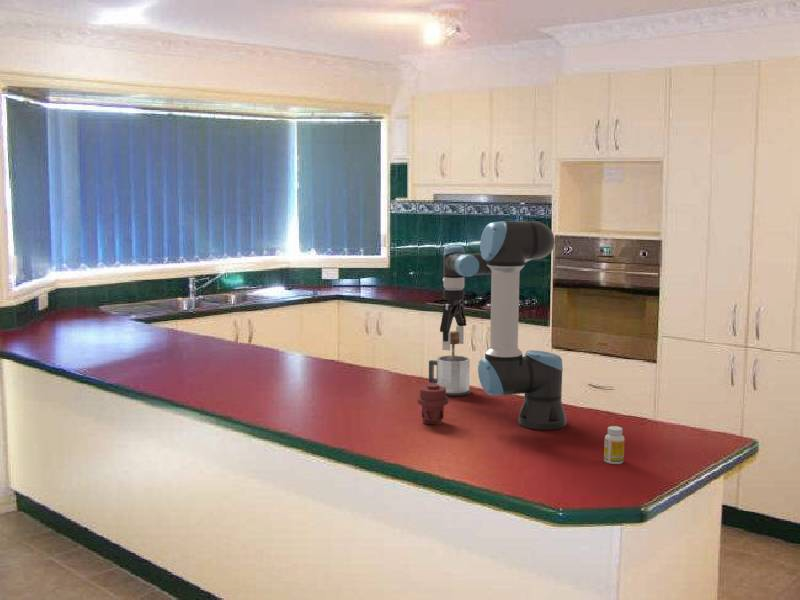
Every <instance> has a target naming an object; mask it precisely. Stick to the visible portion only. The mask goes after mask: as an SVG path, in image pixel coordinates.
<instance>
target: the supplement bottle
mask: <svg viewBox="0 0 800 600" xmlns="http://www.w3.org/2000/svg"><path fill="white" fill-rule="evenodd" d="M623 431H624V430H623V427H620V426H617V425H610V426H608V427H607V433H606V435H605V436H604V443H603V444H604V445H603V446H604V447H603V448H604V449H603V460H604V462H605V463H607V464H611V465H621V464H623V463H624V461H625V459H624V457H625V440H626V439H625V436H624V435H623V433H624V432H623Z"/></svg>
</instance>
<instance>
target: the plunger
mask: <svg viewBox="0 0 800 600" xmlns="http://www.w3.org/2000/svg"><path fill="white" fill-rule="evenodd" d="M449 332H450V345H451V356H452V362H454V356H456V355H455V348H456V345H460V344H459V332H457V331H456V330H455V331H454V330H451V331H449Z"/></svg>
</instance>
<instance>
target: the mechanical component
mask: <svg viewBox="0 0 800 600" xmlns="http://www.w3.org/2000/svg"><path fill="white" fill-rule="evenodd" d="M416 401H417V403H418V405H420V406H421V419H422V424H424V425H428V424H429V425H442V420H443V419H444V418H445V415H444V414H445V408H444V407H445V406H447V405H448V404H449V403H450V402H449V396H446V388H445V387H442V386H439V385H438V384H437V383H428V384H427V385H423V386H421V387H420V388H419V396H417V399H416Z"/></svg>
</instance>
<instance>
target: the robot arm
mask: <svg viewBox="0 0 800 600" xmlns="http://www.w3.org/2000/svg"><path fill="white" fill-rule="evenodd" d="M555 243H556V241H555V235H554V233H553V231H552V229H550V228H549V226H547V225H546V224H545V223H542V222H541V221H540V222H539V221H535V220H532V221H531V220H528V221H520V220H519V221H516V220H515V221H513V220H512V221H505V220H502V221H501V220H500V221H494V222H490V223H488V224H486V226H485V227H484V229H483V231H482V233H481V237H480V242H479V251H480V253H466V250H465V247H464V246H462V245H447V246H445V247H444V249H443V255H442V257H443V278H442V282H443V288H444V289H443V291H442V292H443V293H442V294H443V295H442V296H443V297H442V298H443V300H445V301H446V302H447V303H444V304H443V310H442V311H443V312H442V316H441V321H440V327H439V332H440V333H442V351H451V344H450V332H449V331H450V330H451V326H452V325H453V324H452V322H453V320H454V319H455V322H456V327H455V328H456V329H455V331H457V332H459V344H458V345H460V344H461V345H464V342H465V340H464V339H465V338H464V337H465V335H464V334H465V331H464V330H465V328H464V327H466V326H467V317H466V313H465V308H464V307H465V306H464V299H465V289H464V288H465V277H473V276H483V275H490V276H491V277H490V278H491V280H490V281H491V282H490V284H491V285H490V286H491V287H490V289H491V290H490V294H491V295H490V332H489V333H490V334H489V336H490V338H489V341H490V342H489V347H488V348H487V349H486V350H485V353H484V357H483V358H481V359H480V360H479V362H478V364H477V373H478V375H477V376H478V379H479V383H480V386H481V389H483V391H484V392H485V393H486V394H487V395H489V396H501V397H502V396H508V395H522V394H524V400H523V403H522V405H521V408H520V411H519V414H518V424H519V425H520V426H522V427H523V428H527V429H531V430H540V431H552V430H560V429H564V428H566V426H567V415H566V412H565V409H564V404H563V402H562V394H563V393H562V392H563V391H562V390H563V388H562V387H563V371H564V368H563V359H562V357H561V356H560V355H559V354H557V353H552V352H549V351H543V350H534V349H533V350H526V351H525V353H524V356H523V351H522V350H520V348H519V345H518V344H519V309H520V308H519V307H520V275H521V274H520V271H521V270H522V269H524V267H525V266H526V263H527V262H529V261H532V260H533V261H536V260H537V261H538V260H541V259H544V258H546V257H547V256H549V255H550V254H551V253H552V251H553V250H554V248H555Z"/></svg>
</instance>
